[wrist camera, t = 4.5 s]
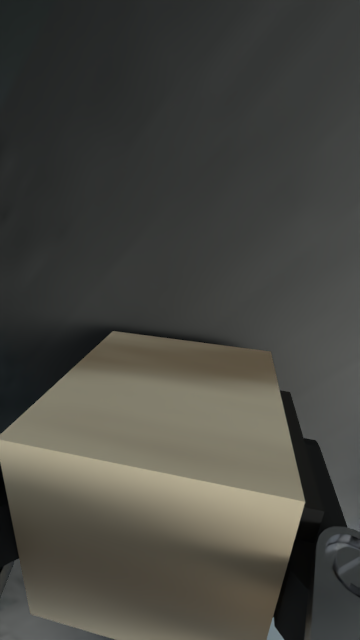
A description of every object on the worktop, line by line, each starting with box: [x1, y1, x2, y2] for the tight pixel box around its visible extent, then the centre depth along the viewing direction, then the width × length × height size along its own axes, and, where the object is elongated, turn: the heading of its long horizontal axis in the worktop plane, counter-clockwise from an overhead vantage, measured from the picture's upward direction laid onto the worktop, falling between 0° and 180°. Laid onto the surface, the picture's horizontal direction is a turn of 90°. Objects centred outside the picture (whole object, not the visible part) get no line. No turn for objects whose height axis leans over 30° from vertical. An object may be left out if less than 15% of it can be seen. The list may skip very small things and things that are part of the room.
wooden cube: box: [0, 331, 305, 640], centre depth 8 cm, size 5×5×5 cm
